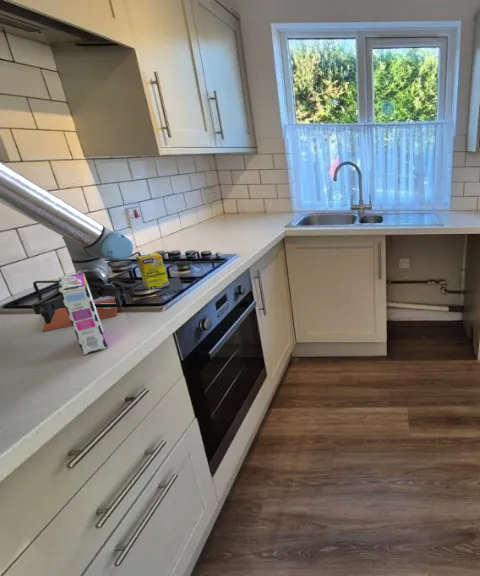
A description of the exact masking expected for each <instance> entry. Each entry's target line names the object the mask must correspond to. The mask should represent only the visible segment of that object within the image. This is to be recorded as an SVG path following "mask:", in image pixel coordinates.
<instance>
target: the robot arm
mask: <svg viewBox="0 0 480 576" xmlns="http://www.w3.org/2000/svg"><path fill="white" fill-rule="evenodd" d="M0 204H2V205H4V206H6V207H8V208H10V209H11V210H13V211H15V212H17V213H19V214H21V215H23V216H24V217H26V218H28V219H30V220H32V221H34V222H36V223H37V224H39V225H41V226H43V227H45V228H46V229H48V230H50V231H52V232H54V233H56V234H58V235H60V236H61V238H62V240H63V242H64V244H65V247H66V249H67V252H68V254H69V257H70V260H71V263H72V266H73V268H74V271H75V275H76V274H82V273H84V275H85V278H86V281H87V284H88V286H89V289H90V292H91V295H92V298H93V300H97V299H99V298H106V297H110V298H115V301H116V304H117V309H122V307H123V301H126V300H127V298H128V296H132V297H133V295H135V293H134V290H133V286H134V285H131V284H128V283H124V282H123V281H119V279H113V280H112V281H111V282H110V283H109V277H110V274H111V272H110V271H111V270H110V268H109V265H108V263H107V262H106V260H109V261H124V260H126V259H128V258H130V257H131V255H132V253H133V251H134V243H133V240H132V239H131V238H130V237H129V236H128V235H126V234H123V233H120V232H115V231H113V230H111V229H109V228H108V227H106V226H105V225H102V224H101V223H100V222H98V221H96V220H95V219H93V218H91V217H90V216H89V215H86V213H84V212H82V211H80V210H79V209H78V208H76V207H74V206H73V205H72V204H69V203H67V202H66V201H65V200H63V199H61V198H60V197H58V196H56V195H55V194H54V193H52V192H50V191H48V189H45V188H43V187H42V186H41V185H39V184H37V183H36V182H34V181H32V180H31V179H30V178H28V177H26V176H25V175H23V174H21V173H20V172H19V171H17V170H15V169H13V168H12V167H11V166H9V165H7V164H5V162H2V161H1V160H0ZM31 307H32V309H33V311H34V314H35V315H40V317H42V318H43V320H44V322H45V323H46V324H48V323H51V320H52V318H53V316H54V313H55V312H54V311H55V310H57V309H62V308H64V307H65V305H64V302H63V299H62V297H61V294H60V292H59V289H56V290H54V291H53V292H52V293H51V294H49V295H47V296H45V297H43V298H42V299H39V300H38V301H36V302H34V303H32V304H31Z"/></svg>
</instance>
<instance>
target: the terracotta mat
mask: <svg viewBox="0 0 480 576" xmlns="http://www.w3.org/2000/svg"><path fill="white" fill-rule="evenodd" d="M94 303H95V304H100V303H116V301H115V297H111V298H108V299H103V300H98V301H97V300H96V301H94ZM96 309H97V312H98V315H99V318H100V320H104V319H108V318H113V317H117V315H118V307H117V308H111V309H103V308H96ZM54 312H55V313H54V316H53V318H52V320H51V323H48V324H46V322H45V323H44V325H43V327H42V329H41V332H42V333H44V332H49V331H53V330H58V329H62V328H67V327H73V326H72V323H71V321H70V318H69V315H68V313H67V310H66V307H61V308H59V309H57V310H55V311H54Z"/></svg>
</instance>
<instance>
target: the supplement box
mask: <svg viewBox="0 0 480 576" xmlns="http://www.w3.org/2000/svg"><path fill="white" fill-rule="evenodd" d="M135 258H136V262H137V266H138V269H139V272H140V275H141V280H142V284H144V285H145V286H146V287H147V288H148V289H163V288H167V287H170V286H169V282H168V279H169V278H168V274H167V271H166V268H165V264H164V259H163V257H162V255H161V254H159V253H158V252H152V253H147V254H142V255H137V256H135Z"/></svg>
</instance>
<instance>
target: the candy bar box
mask: <svg viewBox="0 0 480 576" xmlns="http://www.w3.org/2000/svg"><path fill="white" fill-rule="evenodd" d="M58 290H59V292H60V294H61V297H62V299H63V302H64V305H65V306H64V308H66V310H67V313H68V315H69V318H70V321H71V323H72V326H71V327H72V328H73V330H74V335H75V336H76V338H77V342H78V345H79V346H80V350H81V352H82V355H83V356H86V355H90V354H93V353H97V352H100V351H104V350H106V349H109V347H108V342H107V338H106V334H105V330H104V327H103V324H102V320H101V319H100V318H99V315H98V312H97V309H96V306H95V303H94V302H95V301H94V300H95V299H94V300H93V298H92V295H91V292H90V289H89V286H88V284H87V281H86V278H85V275H84V273H82V274H76V273H75V274H71V275H67V276H61V277H59V278H58Z"/></svg>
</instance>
